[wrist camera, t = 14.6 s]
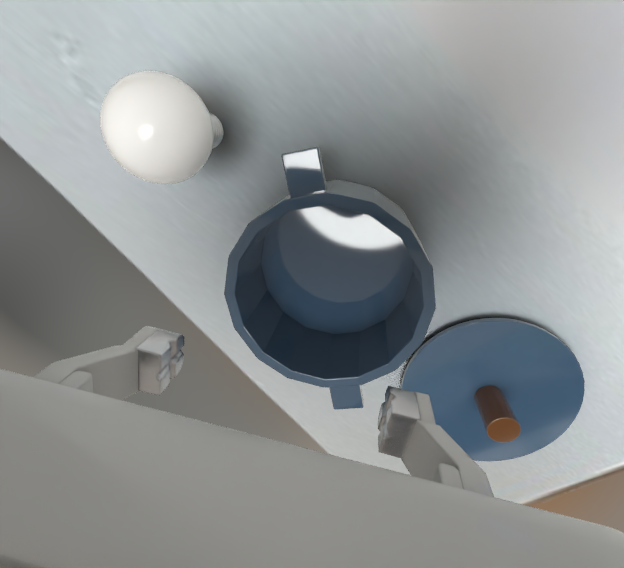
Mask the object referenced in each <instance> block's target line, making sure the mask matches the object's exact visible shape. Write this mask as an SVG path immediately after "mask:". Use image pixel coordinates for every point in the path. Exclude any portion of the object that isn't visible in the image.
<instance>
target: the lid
mask: <svg viewBox="0 0 624 568" xmlns="http://www.w3.org/2000/svg"><path fill="white" fill-rule="evenodd" d="M401 389H404V390H408V391H412V392H419V393H423V394H428V395H429V397H430V401H431V406H432V410H433V414H434V419H435V423H436V425H439V426H441V427H442V429H443V430H444V431H445V432H446V433H447V434H448V435H449V436H450V437H451V438H452V439H453V440H454V441H455V442H456V443H457V444H458V445H459V446H460V447H461V448H462V449H463V450H464V451H465V452H466V453H467V454H468V456H469V457H470V458H471V459H472V460H475V461H502V460H508V459H514V458H517V457H521V456H525V455H527V454H530V453H533V452H535V451H537V450H539V449H541V448H543V447H545V446H547V445H548V444H550V443H551V442H553V441H554V440H555V439H557V438H558V437H559V436H560V435H562V434H563V433H564V432H565V431H566V430H567V428H568V427H569V426H570V425H571V423H572V422H573V421H574V419H575V418H576V416H577V414H578V412H579V410H580V407H581V404H582V402H583V396H584V378H583V373H582V370H581V367H580V365H579V362H578V361H577V359H576V357H575V356H574V354H573V353H572V352H571V351H570V349H569V348H568V347H567V346H566V345H565V344H564V343H563V342H562V341H561V340H560V339H559V338H557V337H556V336H555V335H553V334H552V333H550V332H549V331H547V330H545V329H543V328H541V327H539V326H537V325H534V324H531V323H528V322H525V321H520V320H515V319H508V318H483V319H477V320H471V321H467V322H463V323H460V324H457V325H455V326H452V327H449V328H447V329H445V330H443V331H442V332H440V333H438V334H436V335H435V336H433V337H432V338H431V339H429V340H428V341H427V342H426V343H424V344H423V345H422V346H421V347H420V348H419V349H418V350H417V352H416V353H415V354H414V355H413V357H412V358H411V360H410V361H409V363H408V365H407V367H406V369H405V371H404V375H403V378H402V383H401Z"/></svg>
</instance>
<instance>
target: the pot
mask: <svg viewBox="0 0 624 568" xmlns="http://www.w3.org/2000/svg"><path fill="white" fill-rule="evenodd" d="M282 160H283V165H284V170H285V175H286V180H287V185H288V189H289V195H288V196H286V197H285V198H283V199H282V200H280V201H279V202H277V203H276V204H274V205H273V206H271V207H270V208H269V209H267V210H266V211H265V212H263V213H262V214H261V215H259V216H258V217H256V218H255V219H254V220H252V221H251V222H250V223H249V224H248V225H247V227H246V229H245V230H244V232H243V234H242V235H241V237H240V239H239V240H238V242H237V243H236V245H235V247H234V248H233V250H232V252H231V253H230V255H229V258H228V266H227V275H226V283H225V292H224V295H225V298H226V301H227V305H228V308H229V312H230V315H231V318H232V322H233V325H234V328H235V330H236V331H237V332H238V334H239V335H240V336H241V337H242V339H243V340H244V341H245V343H246V344H247V345H248V347H249V348H250V349H251V350H252V352H253V353H254V354H255V356H256V357H257V358H258V359H259V360H261V361H262V362H264V363H266V364H267V365H269V366H270V367H272V368H273V369H275V370H276V371H278V372H279V373H281V374H282V375H284V376H285V377H287V378H290V379H294V380H297V381H301V382H305V383H309V384H312V385H316V386H320V387H329V388H330V393H331V397H332V402H333V407H334V409H349V408H363V395H362V389H361V385H363V384H365V383H367V382H370V381H372V380H374V379H377V378H379V377H381V376H384V375H386V374H388V373H390V372H393V371H395V370H396V369H397V368H398V367H399V366H400V365H401V364H402V363H403V362H404V361H405V360H406V359H407V358H408V357H409V356H410V355H411V354H412V353H413V352H414V351H415V350H416V349H417V348H418V347H419V346H420V345H421V344H422V343H423V340H424V338H425V335H426V332H427V330H428V327H429V324H430V322H431V319H432V317H433V314H434V311H435V309H436V303H435V290H434V278H433V268H432V265H431V262H430V260H429V258H428V256H427V254H426V252H425V249H424V247H423V245H422V243H421V241H420V239H419V237H418V235H417V233H416V232H415V230H414V228H413V226H412V225H411V223H410V221H409V219H408V218H407V216H406V214H405V212H404V211H403V209H402V208H401V207H399V206H398V205H397V204H395V203H394V202H392V201H391V200H390V199H389V198H388V197H386V196H385V195H383V194H382V193H380V192H379V191H378V190H376V189H375V188H373V187H369V186H365V185H361V184H358V183H354V182H347V181H343V180H339V179H338V180H337V179H336V180H330V181H326V179H325V173H324V167H323V162H322V156H321V150H320V147H314V148H309V149H305V150H300V151H295V152H290V153H285V154H282Z"/></svg>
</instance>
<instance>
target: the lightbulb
mask: <svg viewBox="0 0 624 568" xmlns="http://www.w3.org/2000/svg"><path fill="white" fill-rule="evenodd" d="M100 126H101V132H102V136H103V139H104V142H105V144H106V146H107V148H108V150H109V152H110V153H111V155H112V156H113V157H114V159H115V160H116V161H117V162H118V163H119V164H120V165H121V166H122V167H123V168H124V169H125V170H127V171H128V172H129V173H131V174H132V175H134V176H136V177H138V178H140V179H142V180H145V181H148V182H152V183H157V184H174V183H179V182H182V181H185V180H187V179H189V178H191V177H192V176H194V175H195V174H196V173H198V172H199V171H200V170H201V169H202V167H203V166H204V165H205V163H206V162H207V160H208V158H209V156H210V154H211V151H212V148H215V147H217V146H218V145H219V144H220V143H221V141H222V138H223V127H222V124H221V122H220V120H219V119H218V118H217V117H216V116H215V115H213V114H212V113H209V112H208V109H207V107H206V106H205V104H204V102H203V101H202V99H201V98H200V97H199V95H198V94H197V93H196V92H195V91H194V90H193V89H192V88H191V87H190V86H189V85H187V84H186V83H185V82H183V81H182V80H180V79H178V78H176V77H174V76H172V75H170V74H167V73H163V72H159V71H138V72H134V73H131V74H128V75H126V76H124V77H122V78H121V79H119V80H118V81H117V82H116V83H115V84H114V85H113V86H112V87H111V88H110V89H109V91H108V92H107V94H106V96H105V98H104V100H103V103H102V106H101V112H100Z"/></svg>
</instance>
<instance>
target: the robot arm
mask: <svg viewBox="0 0 624 568" xmlns="http://www.w3.org/2000/svg"><path fill="white" fill-rule="evenodd" d="M183 346H184V336H183V335H180V334H176V333H173V332H169V331H165V330H162V329H158V328H154V327H150V326H145V327H143V328H142V329H141V330H140V331H139V332H137V333H136V334H135V335H134V336H133V337H131V338H130V339H129V340H128V341H127V342H125V343H124V344H123V345H122V346H119V345H116V346H113V347H109V348H105V349H101V350H98V351H94V352H91V353H86V354H83V355H79V356H75V357H72V358H68V359H64V360H60V361H57V362H54V363H52V364H50V365H49V366H48V367H46V368H45V369H43V370H42V371H41V372H39V373H38V374H36V375H35V376H34V377H30V376H26V375H22V374H18V373H14V372H10V371H7V370H2V369H0V568H624V533H622V532H620V531H618V530H616V529H613V528H610V527H607V526H603V525H599V524H595V523H592V522H588V521H584V520H580V519H576V518H572V517H569V516H565V515H560V514H557V513H552V512H549V511H545V510H541V509H537V508H534V507H530V506H526V505H522V504H518V503H514V502H510V501H506V500H503V499H499V498H495V497H494V496H493V493H492V490H491V487H490V484H489V481H488V478H487V475H486V473H485V472H484V471H483V470H482V469H481V468H480V467H479V466H478V465H477V464H476V463H475V462H474V461H473V460H472V459H471V458H470V457H469V456H468V454H467V453H466V452H465V451H464V450H463V449H462V448H461V447H460V446H459V445H458V444H457V443H456V442H455V441H454V440H453V439H452V438H451V437H450V436H449V435H448V434H447V433H446V432H445V431H444V430H443V429H442V427H441V426H439V425H436V423H435V419H434V414H433V410H432V406H431V401H430V397H429V395H428V394H423V393H419V392H412V391H408V390H404V389H400V388H395V387H391V386H388V388H387V390H386V393H385V402H384V403H382V405H381V409H380V413H379V418H378V429H379V431H380V434H379V437H378V445H379V452H381V453H384V454H388V455H391V456H395V457H398V458H402V461H403V463H404V464H405V466H406V468H407V469H408V471H409V472H410V474H411V475H407V474H403V473H399V472H395V471H391V470H388V469H384V468H380V467H376V466H372V465H368V464H365V463H361V462H357V461H353V460H349V459H345V458H341V457H338V456H334V455H330V454H326V453H322V452H318V451H315V450H310V449H307V448H303V447H299V446H295V445H291V444H287V443H283V442H280V441H276V440H272V439H268V438H264V437H260V436H257V435H253V434H249V433H245V432H241V431H238V430H234V429H230V428H226V427H222V426H218V425H214V424H211V423H206V422H203V421H199V420H195V419H191V418H188V417H184V416H179V415H176V414H172V413H168V412H164V411H160V410H156V409H153V408H149V407H145V406H141V405H138V404H133V403H130V402H126V401H122V400H123V399H125V398H127V397H129V396H131V395H133V394H135V393H137V392H138V391H142V392H146V393H151V394H155V395H161V394H162V393H163V392H164V390H165V389H166V388H167V387H168V385H169V380H170V379H172V378H174V377H176V375H177V374H178V373H179V371H180V369H181V366H182V363H183V356H184V354H183V352H182V351H181V348H182V347H183Z"/></svg>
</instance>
